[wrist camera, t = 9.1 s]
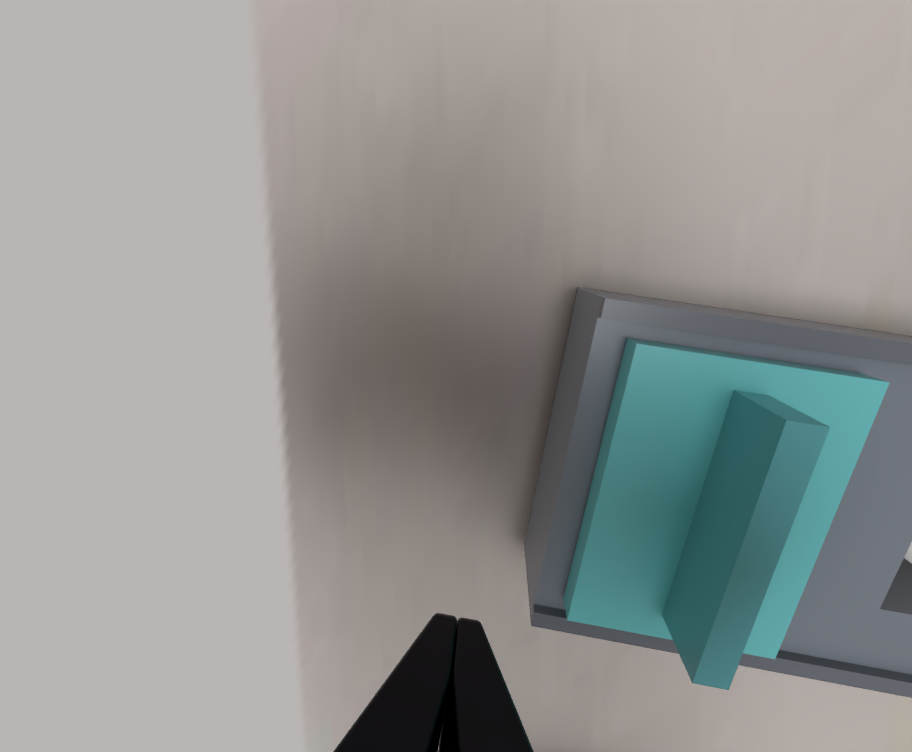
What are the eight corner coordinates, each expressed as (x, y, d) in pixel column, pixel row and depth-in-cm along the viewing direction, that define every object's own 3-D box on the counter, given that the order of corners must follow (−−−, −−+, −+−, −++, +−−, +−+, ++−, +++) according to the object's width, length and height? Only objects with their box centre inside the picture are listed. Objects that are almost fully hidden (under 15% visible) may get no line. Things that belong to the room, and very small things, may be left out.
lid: (758, 635, 16) (826, 734, 13) (563, 599, 17) (579, 686, 13) (862, 373, 14) (982, 411, 10) (627, 337, 14) (667, 363, 11)
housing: (1076, 642, 20) (1255, 762, 15) (524, 543, 21) (531, 625, 17) (1238, 384, 17) (1529, 434, 12) (577, 287, 18) (605, 298, 13)
